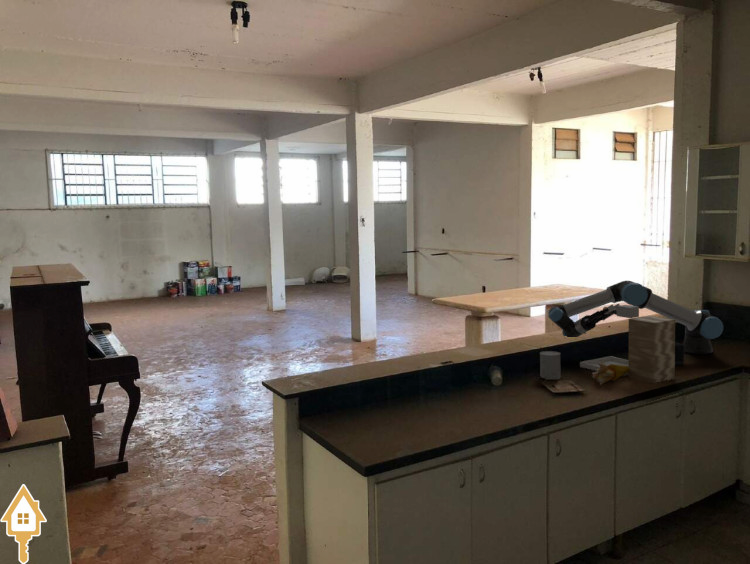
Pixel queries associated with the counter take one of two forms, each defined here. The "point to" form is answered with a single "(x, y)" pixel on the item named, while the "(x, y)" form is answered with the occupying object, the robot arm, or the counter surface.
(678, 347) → the small box
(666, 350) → the stand
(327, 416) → the counter surface
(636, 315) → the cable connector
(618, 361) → the tray
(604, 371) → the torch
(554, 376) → the grey cylinder
